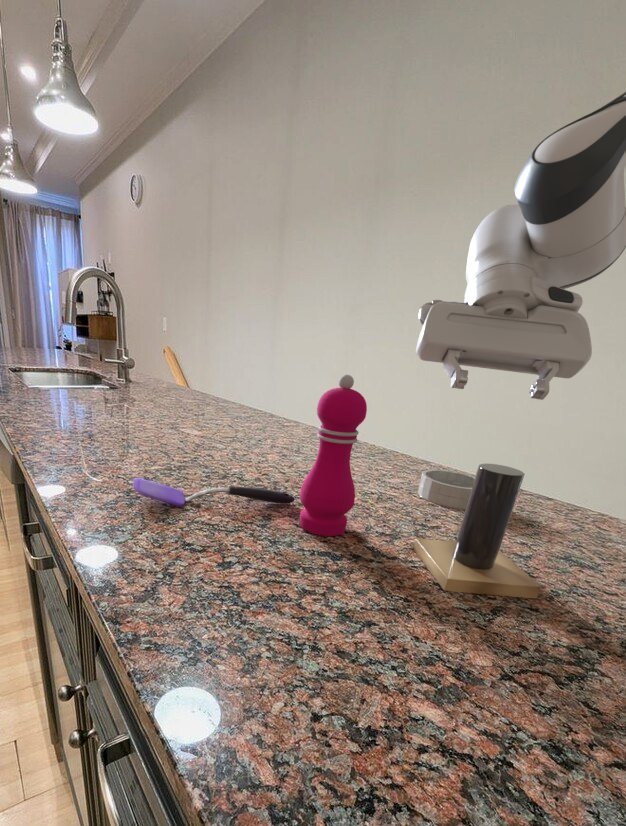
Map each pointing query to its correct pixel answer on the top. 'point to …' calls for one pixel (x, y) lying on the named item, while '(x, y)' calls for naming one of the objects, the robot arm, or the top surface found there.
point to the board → (474, 572)
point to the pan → (446, 488)
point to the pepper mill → (333, 461)
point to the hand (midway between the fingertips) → (498, 390)
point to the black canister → (487, 515)
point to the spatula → (179, 499)
